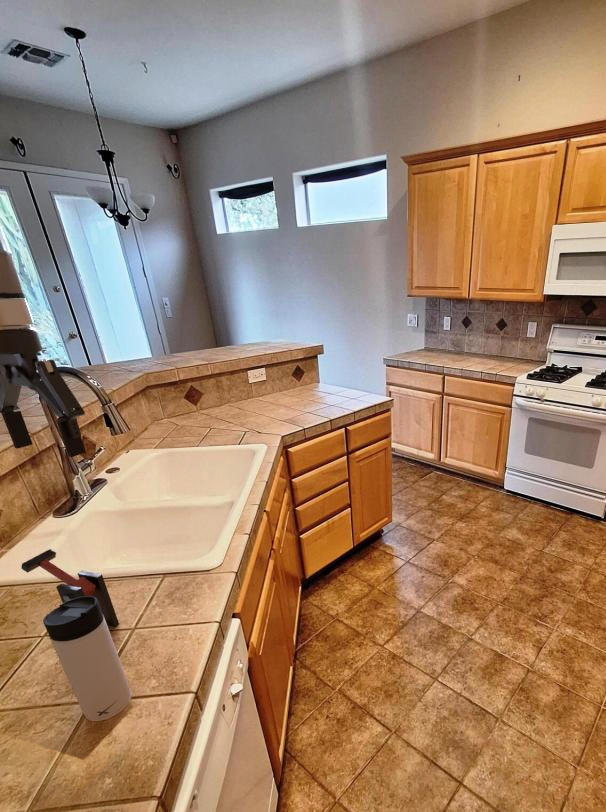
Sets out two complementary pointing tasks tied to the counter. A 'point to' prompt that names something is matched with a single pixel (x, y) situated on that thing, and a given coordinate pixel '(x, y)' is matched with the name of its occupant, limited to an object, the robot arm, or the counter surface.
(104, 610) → the bracket
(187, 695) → the counter surface
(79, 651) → the travel mug
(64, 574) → the lever
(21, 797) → the counter surface
